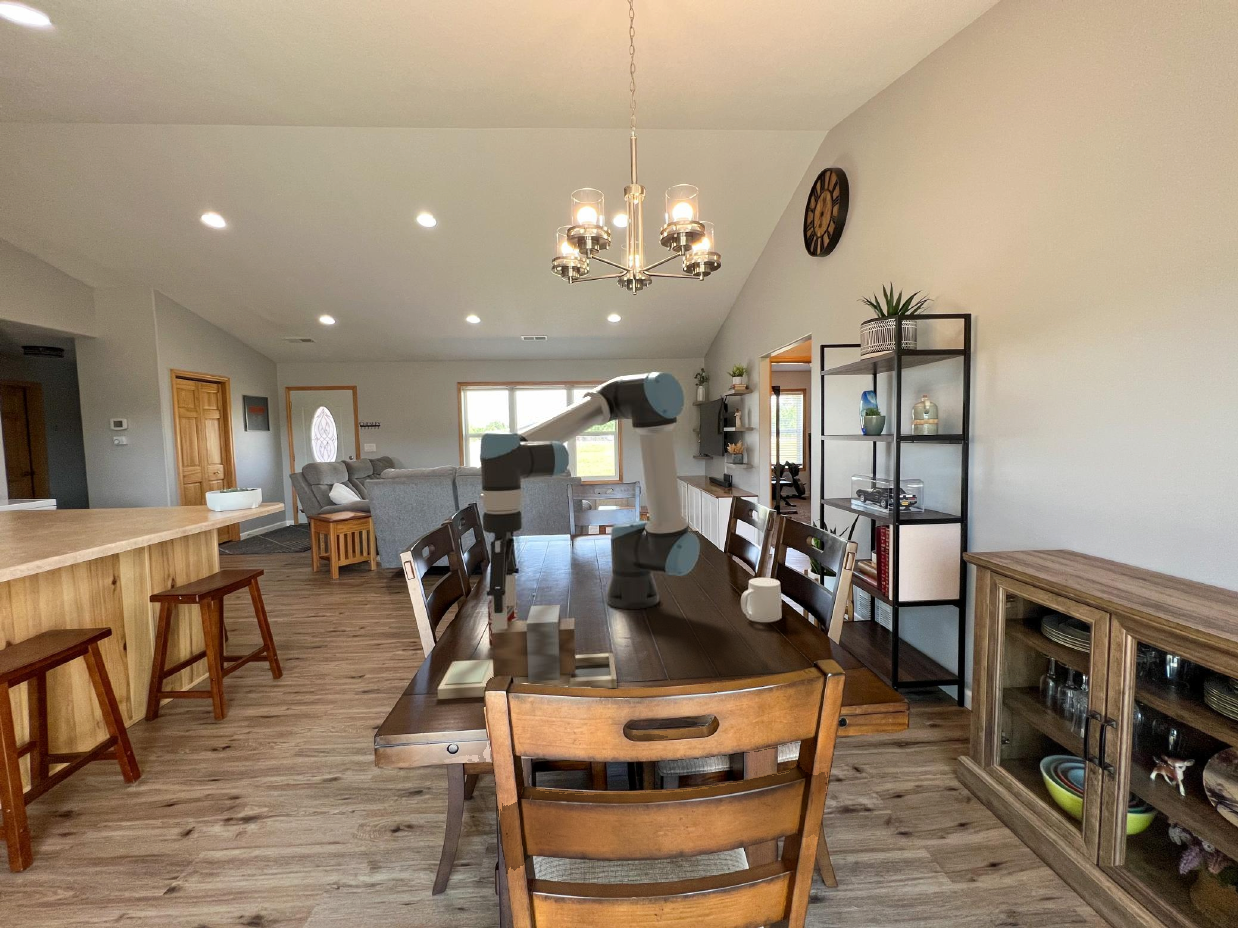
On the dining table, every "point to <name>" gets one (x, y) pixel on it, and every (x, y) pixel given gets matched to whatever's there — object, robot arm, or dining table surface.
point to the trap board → (533, 663)
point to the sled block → (513, 648)
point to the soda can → (511, 616)
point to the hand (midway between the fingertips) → (505, 616)
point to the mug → (762, 600)
